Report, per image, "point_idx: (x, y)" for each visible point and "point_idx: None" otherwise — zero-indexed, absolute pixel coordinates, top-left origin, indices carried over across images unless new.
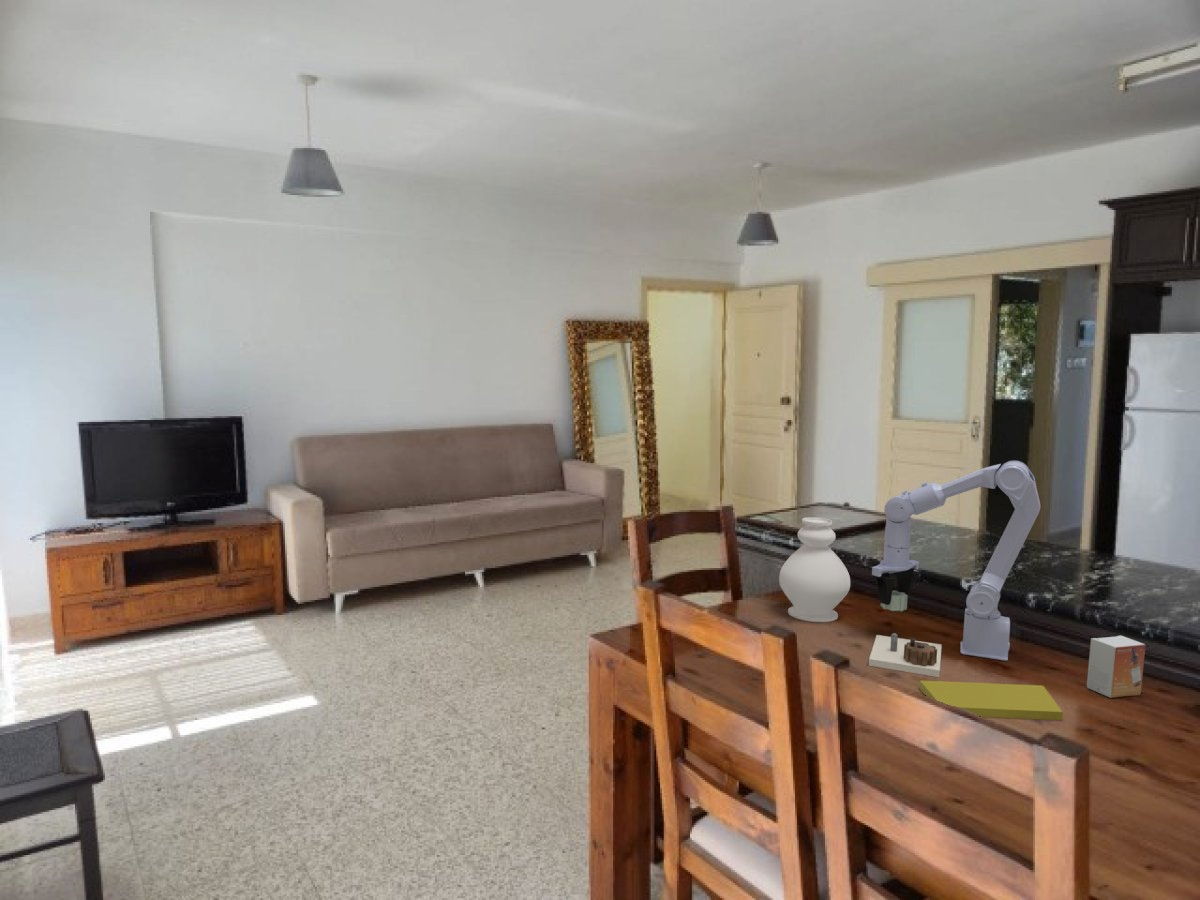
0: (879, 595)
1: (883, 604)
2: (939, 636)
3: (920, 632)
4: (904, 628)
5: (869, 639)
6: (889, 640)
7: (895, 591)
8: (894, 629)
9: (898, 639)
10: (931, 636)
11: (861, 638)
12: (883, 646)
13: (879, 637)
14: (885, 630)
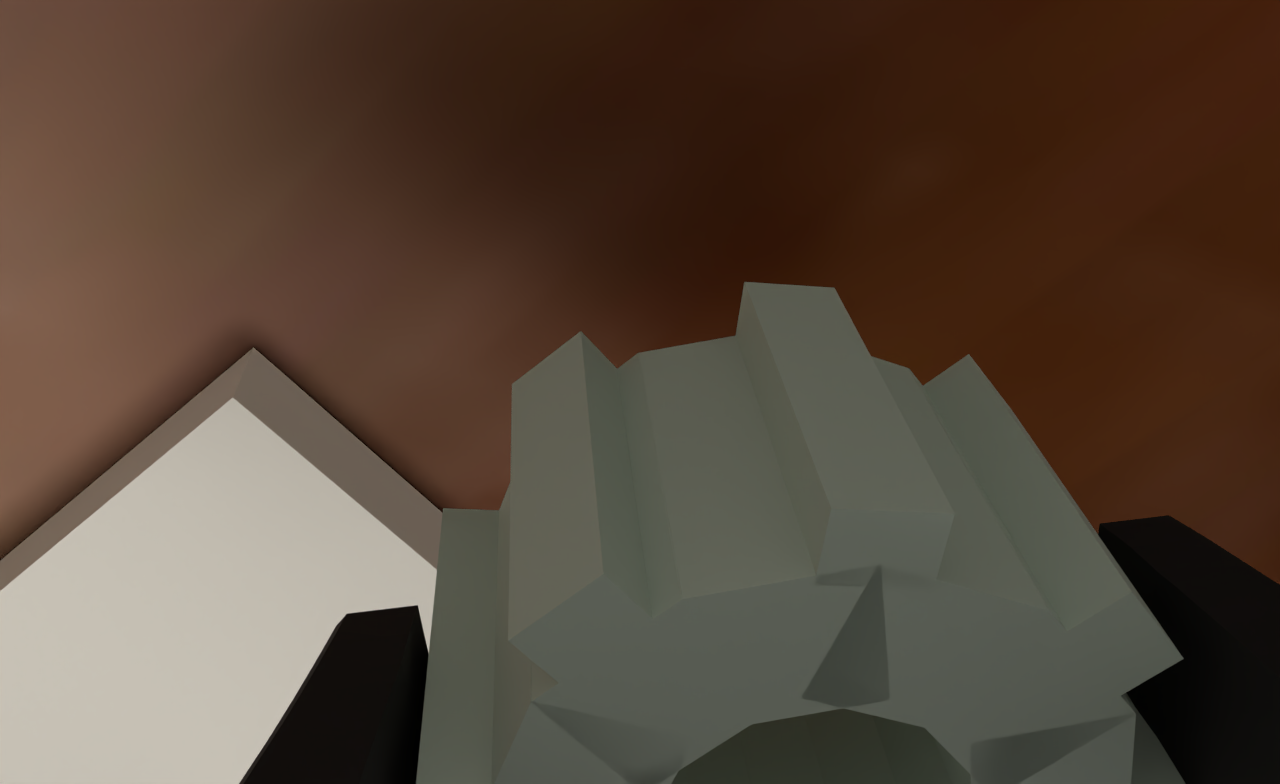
0: (267, 752)
1: (438, 591)
2: (1258, 501)
3: (1204, 301)
4: (1177, 65)
5: (192, 250)
6: (262, 624)
7: (1074, 686)
8: (982, 35)
9: (426, 632)
10: (1169, 468)
11: (81, 165)
12: (15, 747)
13: (193, 496)
14: (794, 12)
